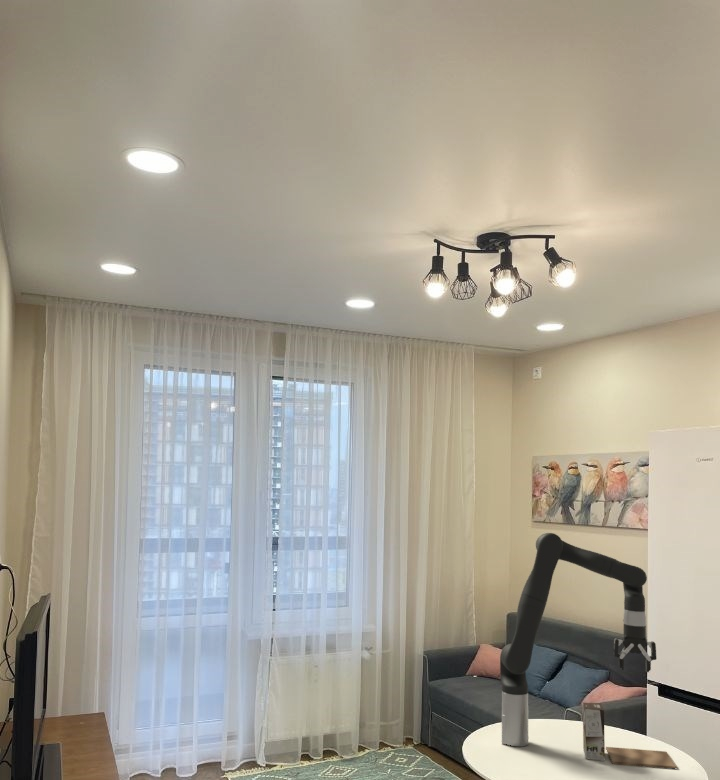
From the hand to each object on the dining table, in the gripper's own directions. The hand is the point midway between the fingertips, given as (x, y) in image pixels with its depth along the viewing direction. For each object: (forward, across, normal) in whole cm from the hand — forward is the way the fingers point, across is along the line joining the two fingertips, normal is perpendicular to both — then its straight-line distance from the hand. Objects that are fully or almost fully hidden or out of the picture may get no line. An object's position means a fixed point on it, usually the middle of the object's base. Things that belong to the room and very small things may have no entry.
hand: (634, 670), depth 266 cm
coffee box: (+27, -15, -10) cm, 33 cm away
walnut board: (+26, 0, -10) cm, 28 cm away
